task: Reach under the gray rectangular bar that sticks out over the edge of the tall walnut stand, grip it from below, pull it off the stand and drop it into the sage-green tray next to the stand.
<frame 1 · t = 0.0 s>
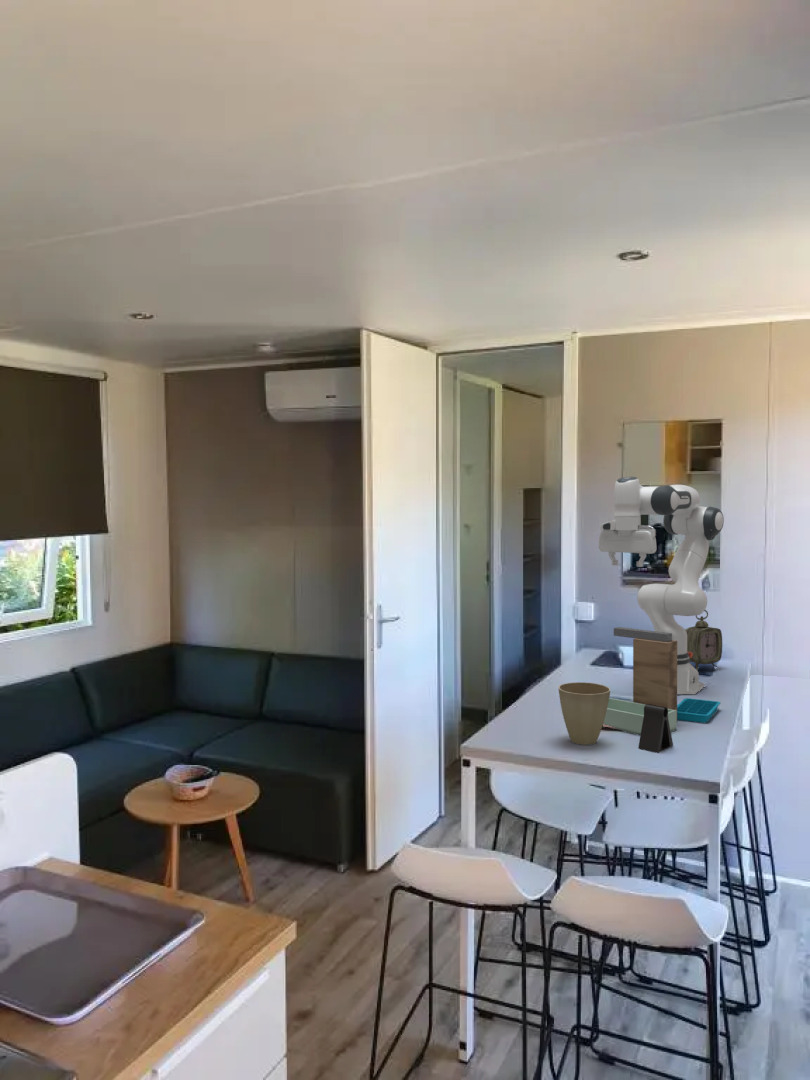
hand: (627, 566, 282), 48 cm above the table, tool pointing down, fingers open, 8 cm apart
plant pot: (584, 742, 245), on the table
tabletop clock: (700, 670, 339), on the table
phone stand: (655, 748, 238), on the table
gray rectangular bar: (642, 638, 267), point 26 cm above the table, touching walnut stand
ice cube tray: (696, 716, 273), on the table
walnut stand: (654, 720, 266), on the table
green tray: (625, 725, 261), on the table
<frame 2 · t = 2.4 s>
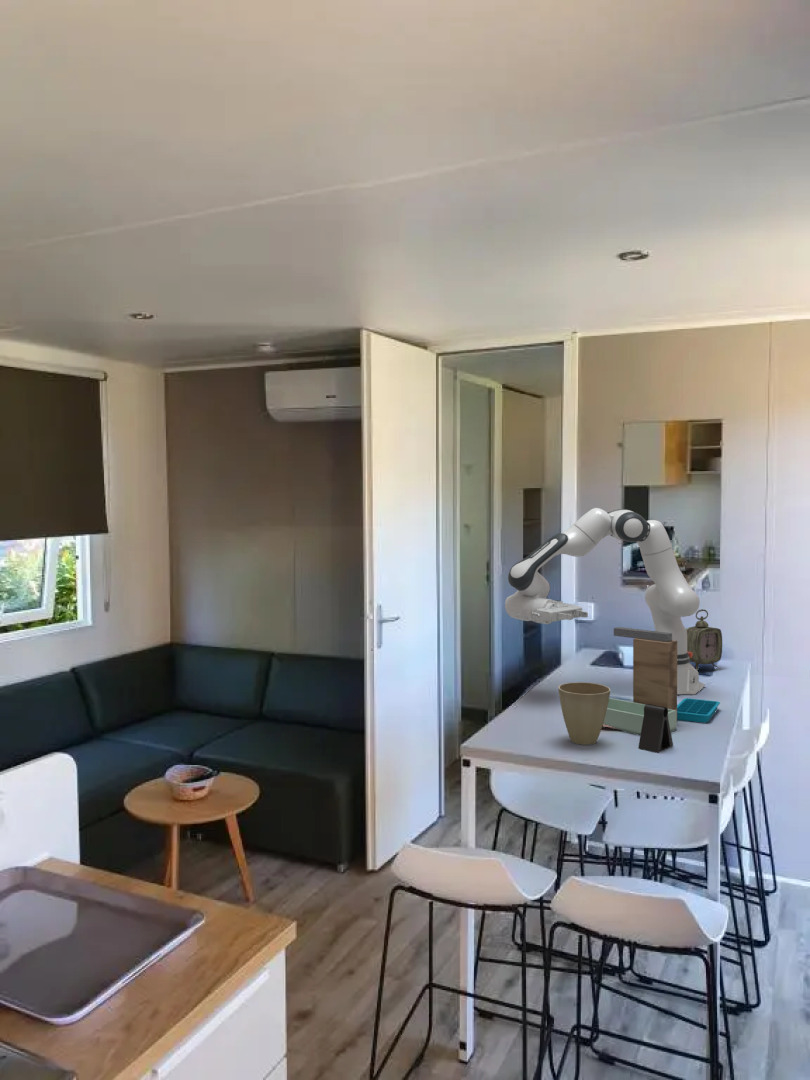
hand: (579, 616, 284), 31 cm above the table, tool horizontal, fingers open, 8 cm apart
nothing on the table moved.
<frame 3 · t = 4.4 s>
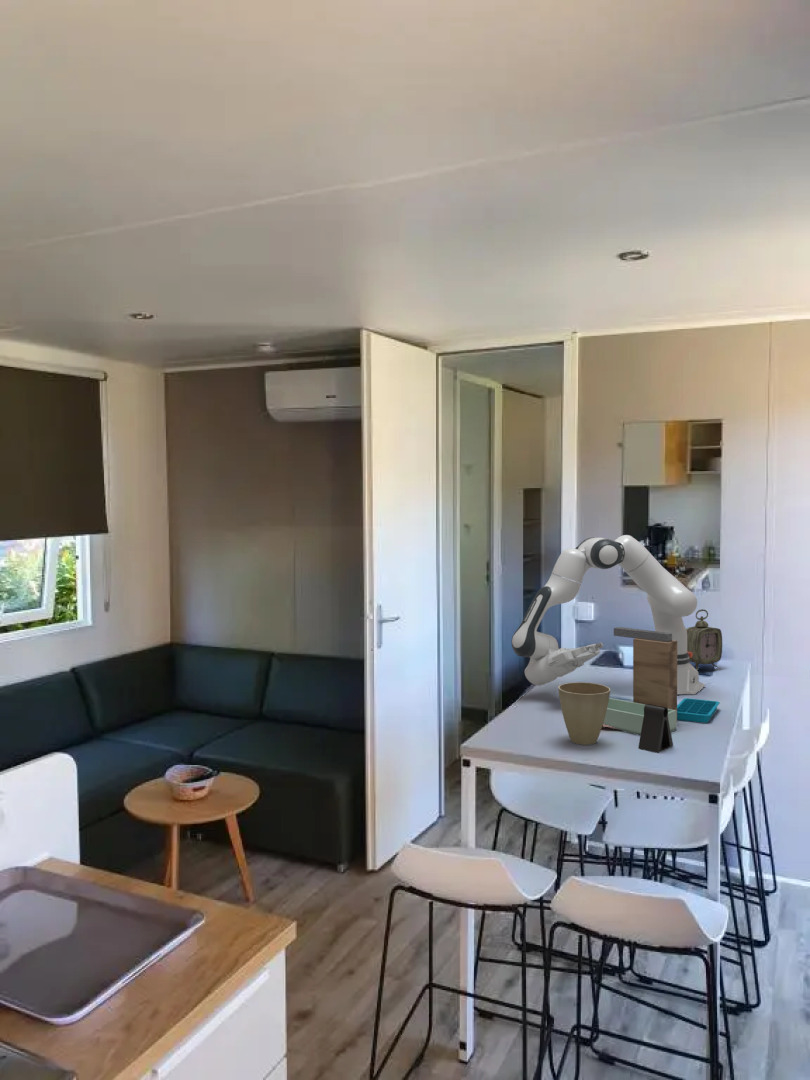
hand: (593, 646, 280), 21 cm above the table, tool pointing upward, fingers open, 8 cm apart
nothing on the table moved.
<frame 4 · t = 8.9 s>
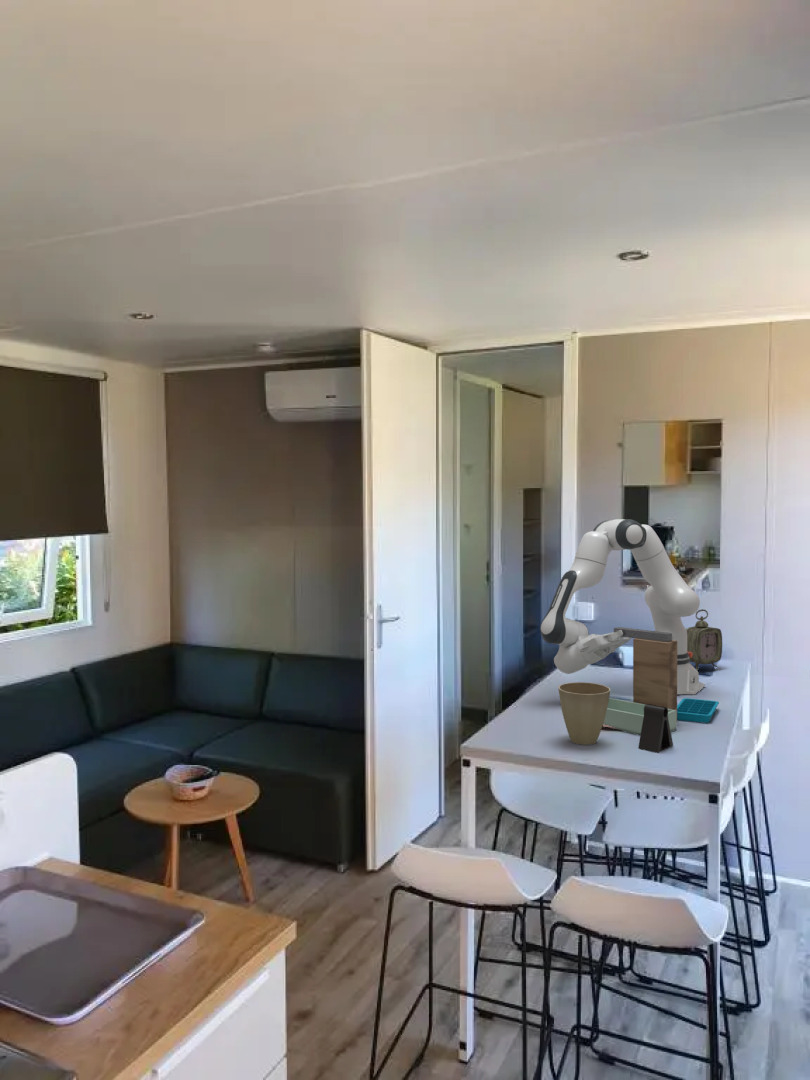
hand: (626, 631, 271), 28 cm above the table, tool pointing upward, fingers closed on gray rectangular bar, 3 cm apart
gray rectangular bar: (642, 638, 267), point 26 cm above the table, touching gripper, walnut stand
everything else where it was.
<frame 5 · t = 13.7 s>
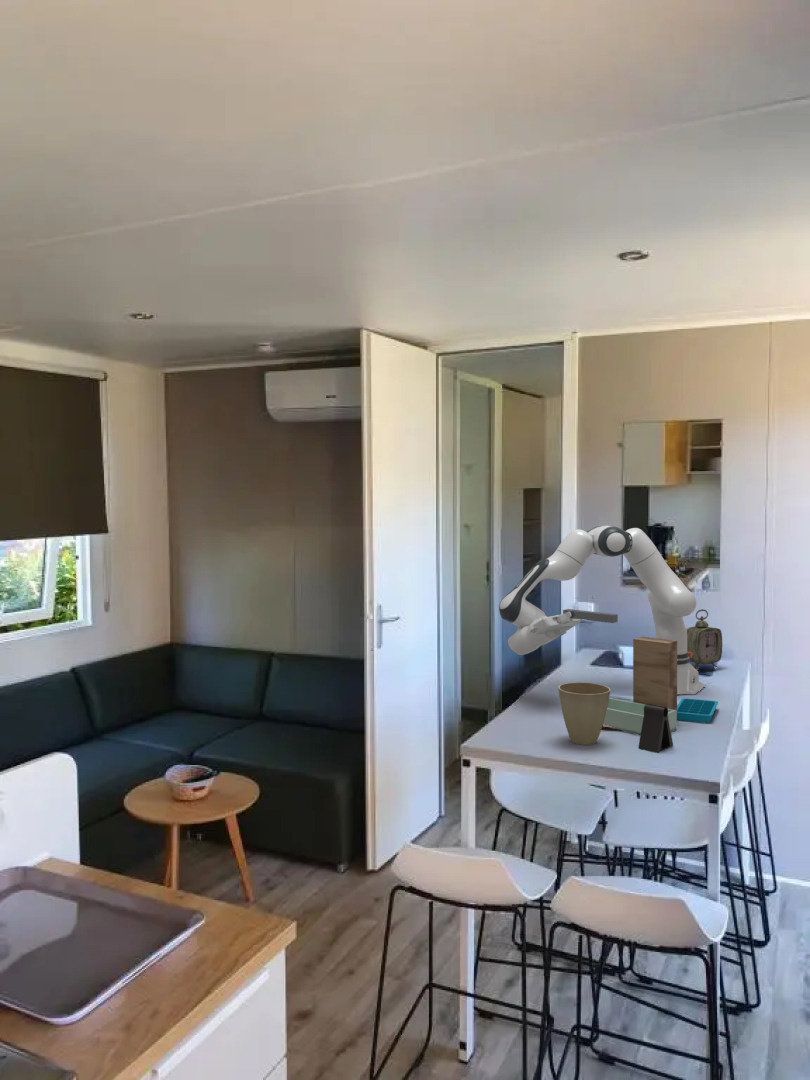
hand: (575, 612, 279), 33 cm above the table, tool pointing upward, fingers closed on gray rectangular bar, 3 cm apart
gray rectangular bar: (589, 619, 275), point 31 cm above the table, touching gripper
everything else where it was.
when the fingers open (21 cm above the table, at t = 18.6 s): gray rectangular bar drops 19 cm, resting on green tray.
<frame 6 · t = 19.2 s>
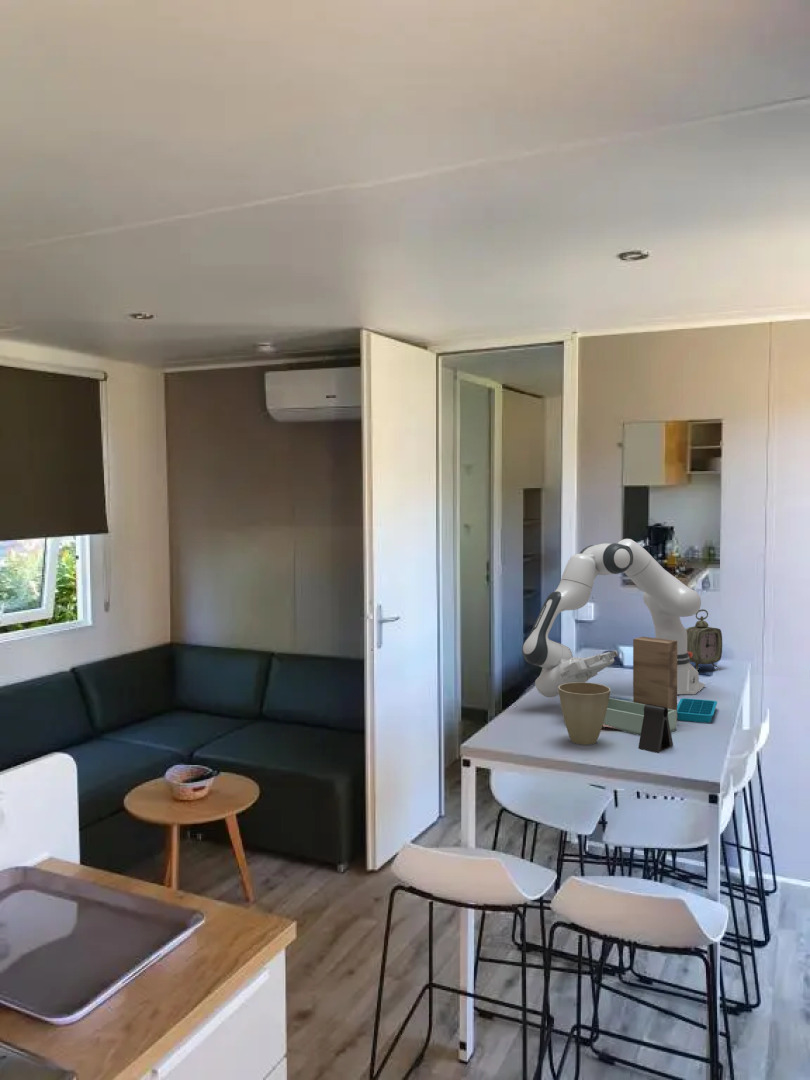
hand: (608, 655, 264), 21 cm above the table, tool pointing upward, fingers open, 8 cm apart
gray rectangular bar: (622, 722, 261), point 1 cm above the table, touching green tray
everything else where it was.
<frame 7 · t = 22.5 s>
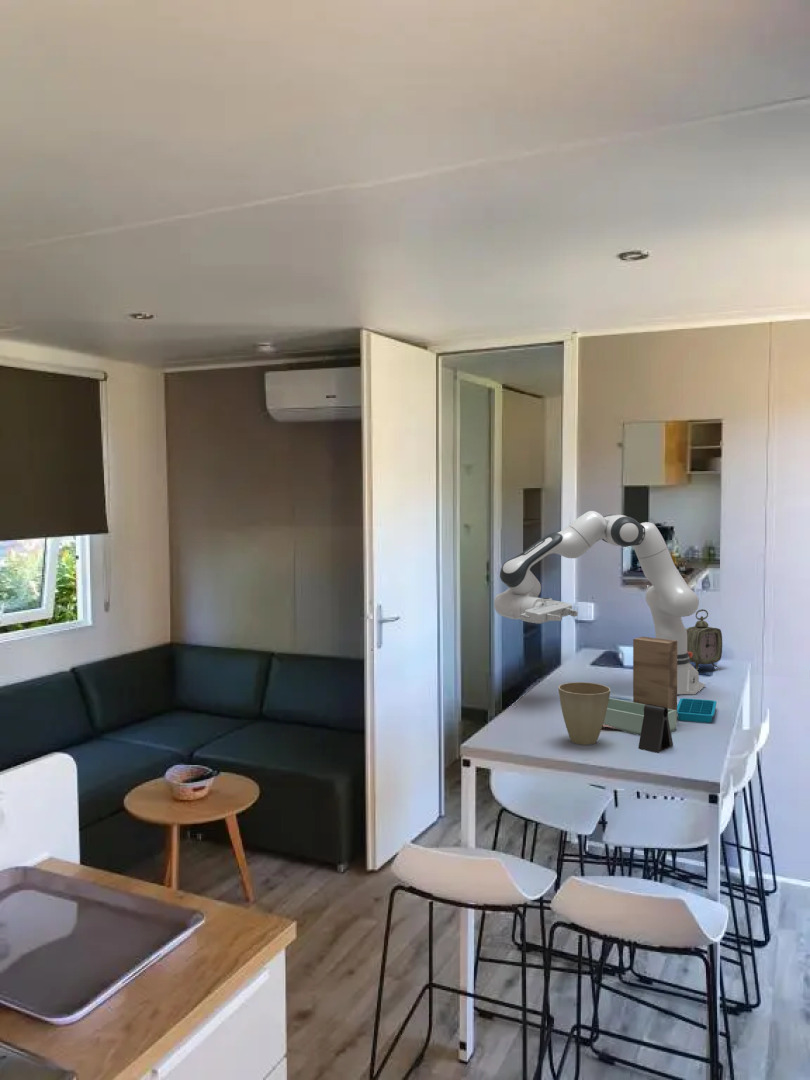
hand: (568, 616, 280), 32 cm above the table, tool horizontal, fingers open, 8 cm apart
nothing on the table moved.
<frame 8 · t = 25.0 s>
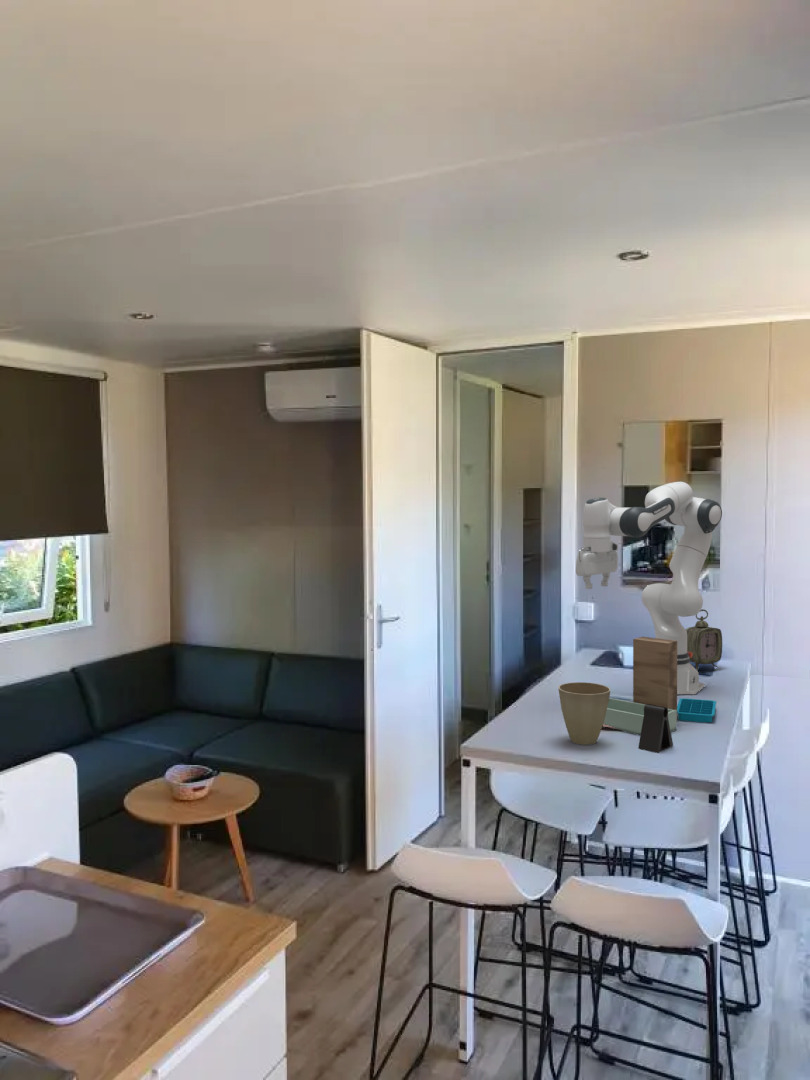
hand: (596, 587, 280), 41 cm above the table, tool pointing down, fingers open, 8 cm apart
nothing on the table moved.
at the end: gray rectangular bar inside the target area on the green tray (1.1 cm from its centre), point 0.8 cm above the green tray's base; the gripper is holding nothing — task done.
